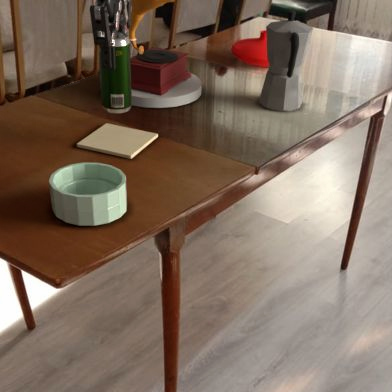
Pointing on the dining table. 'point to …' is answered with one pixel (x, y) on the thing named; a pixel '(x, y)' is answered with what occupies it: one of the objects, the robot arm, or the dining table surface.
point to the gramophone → (159, 69)
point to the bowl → (88, 193)
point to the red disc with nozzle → (252, 50)
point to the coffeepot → (285, 63)
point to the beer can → (117, 78)
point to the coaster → (117, 140)
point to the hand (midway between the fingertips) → (114, 64)
